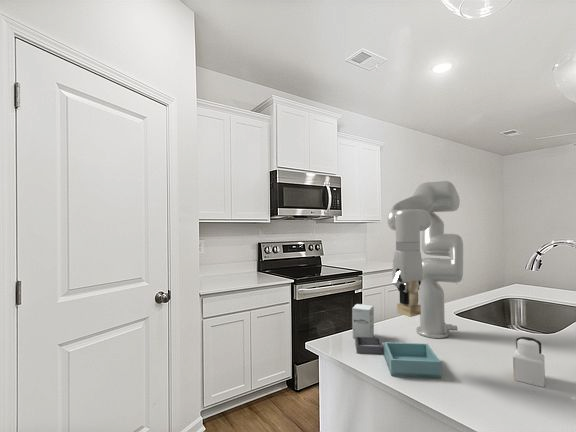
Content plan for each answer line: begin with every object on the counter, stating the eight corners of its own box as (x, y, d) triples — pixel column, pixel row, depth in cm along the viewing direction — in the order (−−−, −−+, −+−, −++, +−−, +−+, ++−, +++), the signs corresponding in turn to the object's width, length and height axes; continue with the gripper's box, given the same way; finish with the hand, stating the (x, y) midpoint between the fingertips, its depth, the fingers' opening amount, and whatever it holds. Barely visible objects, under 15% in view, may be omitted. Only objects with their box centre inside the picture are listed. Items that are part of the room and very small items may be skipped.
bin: (427, 358, 114) (427, 343, 114) (441, 378, 100) (440, 361, 100) (384, 356, 116) (384, 342, 116) (391, 376, 102) (391, 359, 102)
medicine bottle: (516, 371, 103) (515, 333, 103) (544, 378, 99) (543, 338, 99) (513, 380, 98) (512, 340, 98) (544, 388, 93) (543, 345, 93)
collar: (380, 344, 127) (380, 337, 127) (383, 354, 118) (383, 347, 118) (355, 343, 129) (355, 336, 129) (356, 353, 119) (356, 346, 119)
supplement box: (352, 338, 134) (351, 307, 134) (357, 332, 140) (356, 303, 141) (370, 341, 130) (369, 309, 131) (374, 335, 137) (373, 305, 137)
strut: (407, 310, 112) (407, 275, 112) (420, 314, 107) (420, 277, 107) (397, 312, 109) (396, 276, 109) (410, 317, 105) (410, 279, 104)
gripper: (414, 245, 116) (415, 297, 116) (381, 247, 107) (382, 304, 107) (433, 246, 109) (435, 301, 109) (400, 249, 101) (401, 309, 100)
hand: (409, 302), depth 108 cm, fingers closed on strut, 4 cm apart
